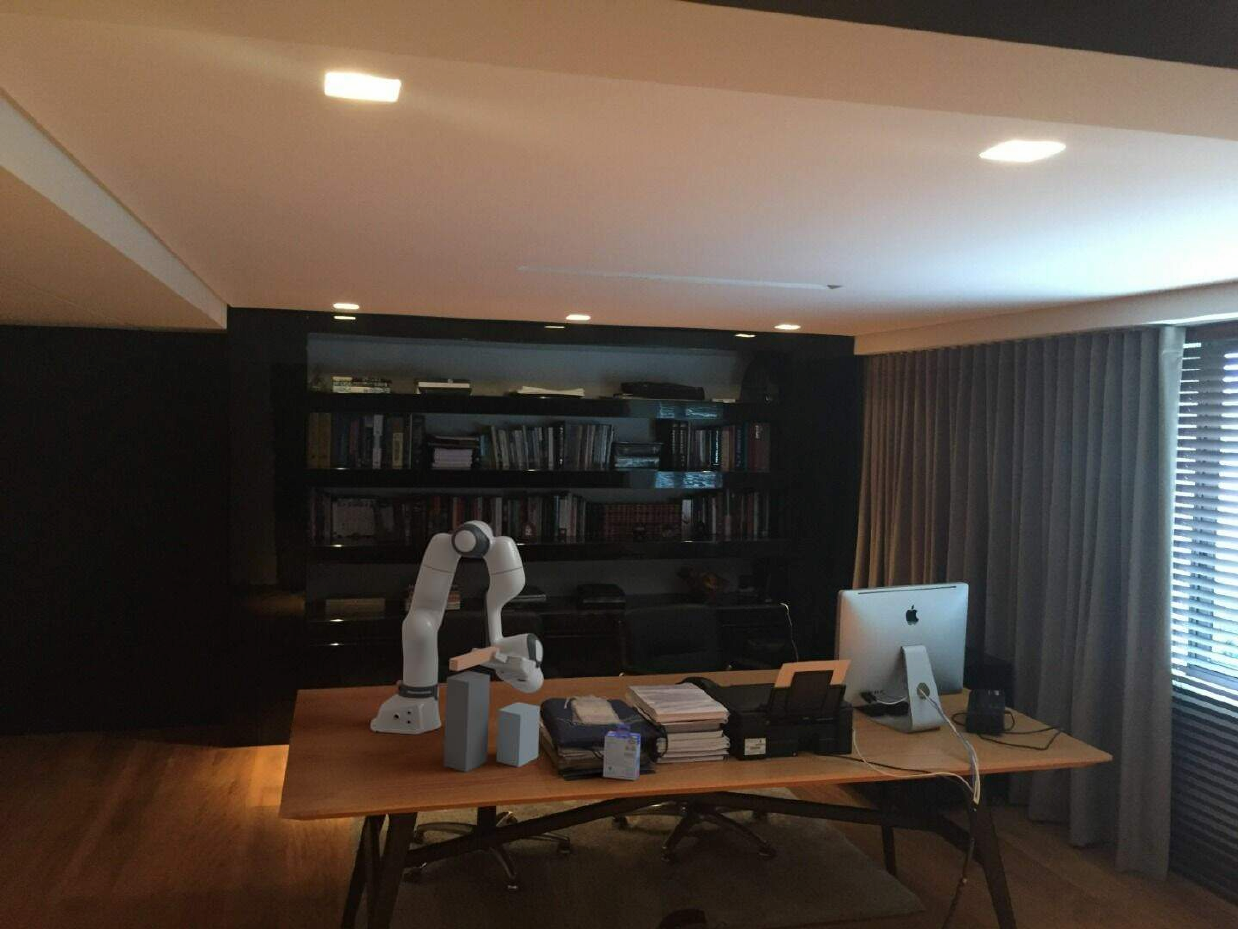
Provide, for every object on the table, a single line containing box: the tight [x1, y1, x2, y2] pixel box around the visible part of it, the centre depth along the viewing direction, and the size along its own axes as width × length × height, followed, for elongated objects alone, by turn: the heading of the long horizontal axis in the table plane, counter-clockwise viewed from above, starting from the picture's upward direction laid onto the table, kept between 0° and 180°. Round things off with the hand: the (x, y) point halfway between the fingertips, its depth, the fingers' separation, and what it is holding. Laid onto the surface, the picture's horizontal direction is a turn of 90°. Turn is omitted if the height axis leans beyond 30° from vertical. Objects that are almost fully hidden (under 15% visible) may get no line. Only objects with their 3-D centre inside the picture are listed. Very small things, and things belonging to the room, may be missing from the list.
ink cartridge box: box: [602, 724, 642, 781], centre depth 285 cm, size 10×6×14 cm, turn 78°
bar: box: [448, 646, 500, 672], centre depth 291 cm, size 20×3×3 cm, turn 151°
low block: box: [496, 701, 541, 768], centre depth 295 cm, size 10×8×16 cm
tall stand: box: [443, 670, 491, 773], centre depth 289 cm, size 10×8×26 cm
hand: (488, 652), depth 297 cm, fingers closed on bar, 3 cm apart
